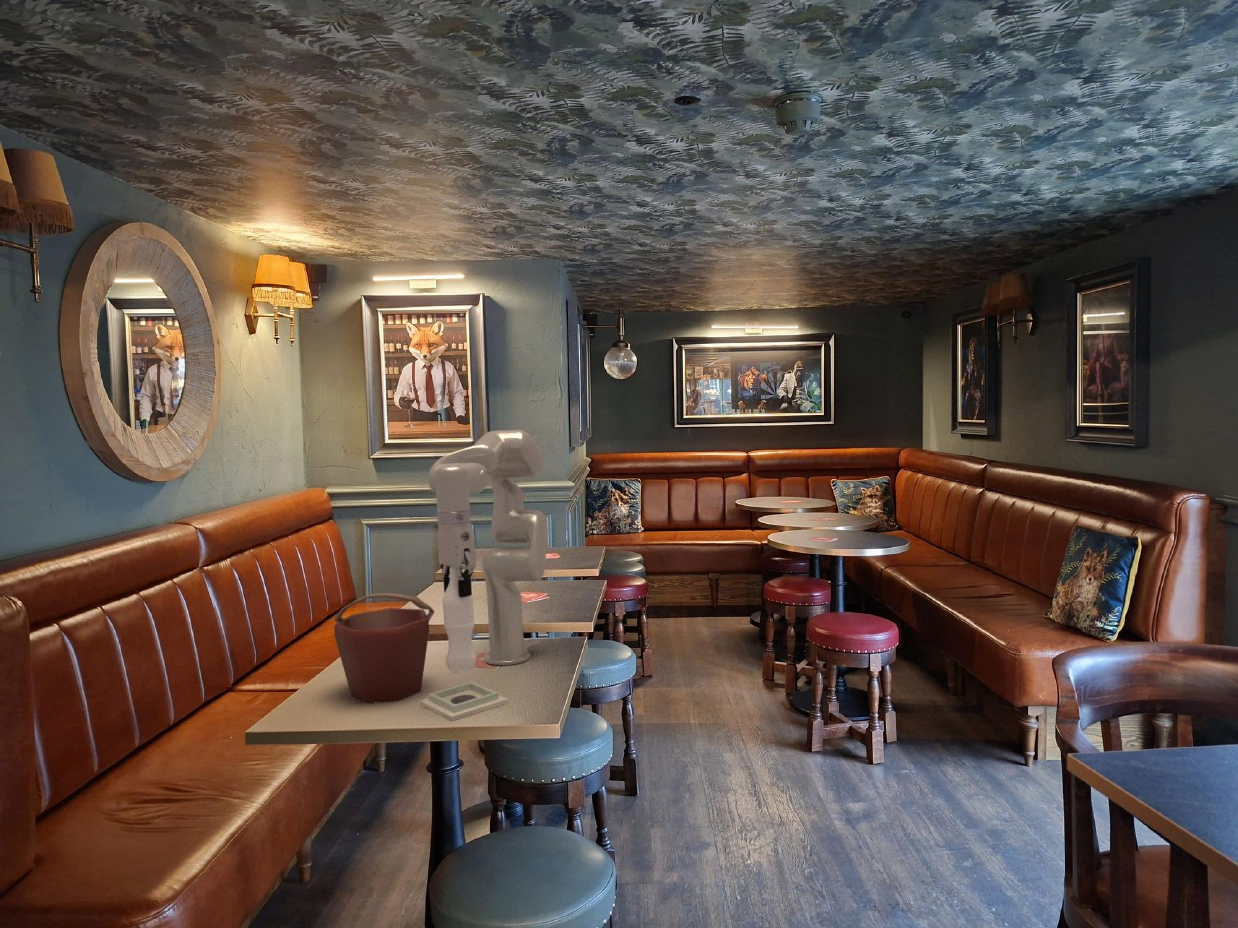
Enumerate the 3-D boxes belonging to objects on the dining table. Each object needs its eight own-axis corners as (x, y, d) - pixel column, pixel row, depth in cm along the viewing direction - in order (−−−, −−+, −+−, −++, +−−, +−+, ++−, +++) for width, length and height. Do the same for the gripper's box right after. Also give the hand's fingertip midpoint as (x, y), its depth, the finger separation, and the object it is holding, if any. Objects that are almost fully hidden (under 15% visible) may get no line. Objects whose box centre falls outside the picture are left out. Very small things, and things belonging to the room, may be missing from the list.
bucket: (452, 680, 206) (447, 585, 204) (404, 712, 185) (398, 606, 183) (371, 675, 213) (366, 583, 212) (317, 704, 192) (310, 602, 191)
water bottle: (445, 676, 184) (439, 570, 182) (447, 667, 191) (441, 564, 189) (476, 673, 185) (470, 567, 183) (477, 664, 192) (471, 562, 191)
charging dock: (474, 688, 199) (474, 678, 199) (507, 702, 188) (507, 692, 188) (420, 704, 189) (419, 694, 189) (451, 720, 178) (451, 710, 178)
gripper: (487, 519, 182) (491, 596, 183) (449, 514, 195) (453, 586, 196) (458, 522, 177) (462, 602, 178) (421, 517, 190) (425, 592, 191)
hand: (457, 593), depth 187 cm, fingers closed on water bottle, 6 cm apart
